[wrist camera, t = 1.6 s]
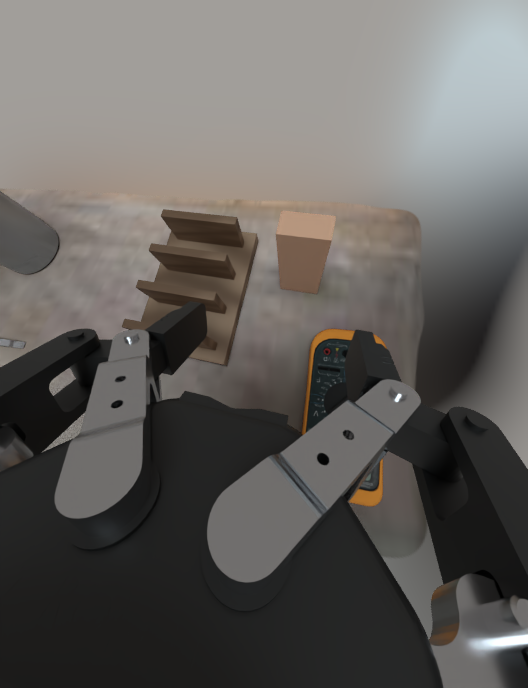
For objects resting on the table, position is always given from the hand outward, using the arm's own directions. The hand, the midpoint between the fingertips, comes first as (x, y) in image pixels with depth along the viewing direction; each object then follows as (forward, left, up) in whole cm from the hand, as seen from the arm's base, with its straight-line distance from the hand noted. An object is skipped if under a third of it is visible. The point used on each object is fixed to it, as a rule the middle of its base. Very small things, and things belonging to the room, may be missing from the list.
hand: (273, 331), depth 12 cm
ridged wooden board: (-15, -5, -17) cm, 23 cm away
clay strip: (-9, +8, -17) cm, 21 cm away
